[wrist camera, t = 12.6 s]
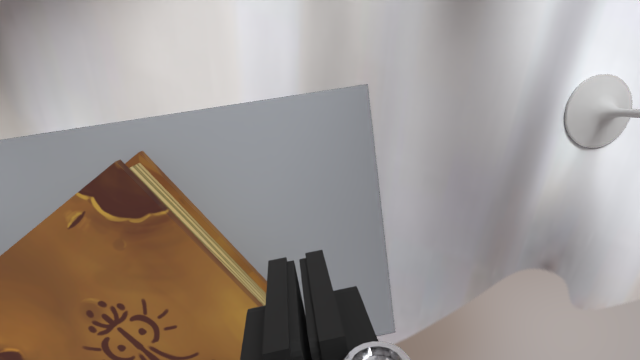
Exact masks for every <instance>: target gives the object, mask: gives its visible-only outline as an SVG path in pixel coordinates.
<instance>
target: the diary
mask: <svg viewBox="0 0 640 360" xmlns="http://www.w3.org/2000/svg"><path fill="white" fill-rule="evenodd" d="M266 290H267V281H266V280H265V279H264V277H263V276H262V275H261V274H260V273H259V272H258V271H257V270H256V269H255V268H254V267H253V266H252V265H251V264H250V263H249V262H248V261H247V260H246V259H245V258H244V256H243V255H242V254H241V253H240V252H239V251H238V250H237V249H236V248H235V247H234V246H233V245H232V244H231V243H230V242H229V241H228V240H227V239H226V238H225V237H224V235H223V234H222V233H221V232H220V231H219V230H218V229H217V228H216V227H215V226H214V225H213V224H212V223H211V222H210V221H209V220H208V219H207V218H206V217H205V216H204V214H203V213H202V212H201V211H200V210H199V209H198V208H197V207H196V206H195V205H194V204H193V203H192V202H191V201H190V200H189V199H188V198H187V197H186V196H185V195H184V193H183V192H182V191H181V190H180V189H179V188H178V187H177V186H176V185H175V184H174V183H173V182H172V181H171V180H170V179H169V178H168V177H167V176H166V175H165V173H164V172H163V171H162V170H161V169H160V168H159V167H158V166H157V165H156V164H155V163H154V162H153V161H152V160H151V159H150V158H149V157H148V156H147V155H146V154H145V152H144V151H140V152H138V153H137V154H136V155H135V156H134V157H132V158H131V159H130V160H129V161H127V162H126V163H125V164H124V163H123V162H122V161H121V159H120V160H118V161H115V162H114V163H113V164H112V165H110V166H109V167H108V168H107V169H105V170H104V171H103V172H102V173H101V174H99V175H98V176H97V177H96V178H95V179H93V180H92V181H91V182H90V183H88V184H87V185H86V186H85V187H84V188H82V189H81V190H80V191H79V192H77V193H76V194H75V195H74V196H73V197H71V198H70V199H69V200H68V201H66V202H65V203H64V204H63V205H62V206H60V207H59V208H58V209H57V210H56V211H54V212H53V213H52V214H51V215H49V216H48V217H47V218H46V219H45V220H43V221H42V222H41V223H40V224H38V225H37V226H36V227H35V228H34V229H32V230H31V231H30V232H29V233H28V234H26V235H25V236H24V237H23V238H21V239H20V240H19V241H18V242H17V243H15V244H14V245H13V246H12V247H10V248H9V249H8V250H7V251H6V252H4V253H3V254H2V255H1V256H0V360H240V356H241V349H242V342H243V335H244V329H245V322H246V315H247V310H248V309H251V308H255V307H260V306H265V305H266Z"/></svg>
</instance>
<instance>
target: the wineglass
mask: <svg viewBox="0 0 640 360" xmlns="http://www.w3.org/2000/svg"><path fill="white" fill-rule="evenodd" d="M630 117H635V118H640V109H632V96H631V92H630V90H629V88H628V86H627V85H626V84H625V82H624V81H623V80H621V79H620V78H618V77H617V76H613V75H610V74H604V75H596V76H593V77H590V78H589V79H587V80H585V81H583V82H582V83H581V84H580V85H579V86H578V87H577V88H576V89H575V90H574V92H573V93H572V94H571V96H570V98H569V100H568V103H567V105H566V110H565V126H566V130H567V132H568V134H569V136H570V138H571V139H572V140H573V141H574V142H575V143H577V144H579V145H580V146H584V147H588V148H598V147H602V146H605V145H607V144H609V143H611V142H612V141H614V140H615V139H616V138H617V137H618V136H619V135H620V134H621V133H622V132H623V130H624V129H625V128H626V126H627V124H628V122H629V119H630Z"/></svg>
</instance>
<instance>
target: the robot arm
mask: <svg viewBox="0 0 640 360" xmlns="http://www.w3.org/2000/svg"><path fill="white" fill-rule="evenodd" d="M305 255H306V258H302V259H299V262H300V270H301V279H302V288H303V297H304V305H305V310H304V306H303V301H302V296H301V291H300V286H299V282H298V277H297V272H296V267H295V263H294V260H293V261H287V258H286V257H284V258H279V259H274V260H269V261H268V274H267V290H266V305H265V306H260V307H255V308H251V309H248V310H247V315H246V322H245V329H244V335H243V342H242V349H241V356H240V360H411V359H410V358H409V357H408V355H407V354H406V353H405V352H404V351H403V350H402V349H401V348H399V347H397V346H395V345H394V344H391V343H387V342H378V339H377V337H376V334H375V332H374V329H373V326H372V324H371V321H370V319H369V316H368V314H367V311H366V309H365V306H364V303H363V301H362V298H361V296H360V293H359V291H358V288H357V286H353V287H349V288H344V289H339V290H335V291H333V288H332V284H331V280H330V277H329V273H328V269H327V265H326V261H325V258H324V254H323V250H318V251H313V252H308V253H305ZM305 314H306V315H305Z"/></svg>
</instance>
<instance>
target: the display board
mask: <svg viewBox="0 0 640 360" xmlns="http://www.w3.org/2000/svg"><path fill="white" fill-rule="evenodd" d="M140 151H144V152H145V154H146V155H147V156H148V157H149V158H150V159H151V160H152V161H153V162H154V163H155V164H156V165H157V166H158V167H159V168H160V169H161V170H162V171H163V172H164V173H165V175H166V176H167V177H168V178H169V179H170V180H171V181H172V182H173V183H174V184H175V185H176V186H177V187H178V188H179V189H180V190H181V191H182V192H183V193H184V195H185V196H186V197H187V198H188V199H189V200H190V201H191V202H192V203H193V204H194V205H195V206H196V207H197V208H198V209H199V210H200V211H201V212H202V213H203V214H204V216H205V217H206V218H207V219H208V220H209V221H210V222H211V223H212V224H213V225H214V226H215V227H216V228H217V229H218V230H219V231H220V232H221V233H222V234H223V235H224V237H225V238H226V239H227V240H228V241H229V242H230V243H231V244H232V245H233V246H234V247H235V248H236V249H237V250H238V251H239V252H240V253H241V254H242V255H243V256H244V258H245V259H246V260H247V261H248V262H249V263H250V264H251V265H252V266H253V267H254V268H255V269H256V270H257V271H258V272H259V273H260V274H261V275H262V276H263V277H264V279H265V280H266V281H267V274H268V261H269V260H274V259H279V258H284V257H286V258H287V261H293V260H294V263H295V267H296V272H297V277H298V282H299V286H300V291H301V296H302V301H303V306H304V310H305V305H304V297H303V288H302V279H301V270H300V262H299V259H302V258H306V255H305V253H308V252H313V251H318V250H323V254H324V258H325V261H326V265H327V269H328V273H329V277H330V280H331V284H332V288H333V291H335V290H339V289H344V288H349V287H353V286H357V288H358V291H359V293H360V296H361V298H362V301H363V303H364V306H365V309H366V311H367V314H368V316H369V319H370V321H371V324H372V326H373V329H374V332H375V334H376V336H379V335H384V334H388V333H393V332H395V327H394V318H393V309H392V300H391V291H390V282H389V273H388V264H387V255H386V245H385V236H384V227H383V218H382V209H381V200H380V191H379V182H378V173H377V164H376V155H375V146H374V137H373V128H372V119H371V110H370V101H369V92H368V84H365V85H359V86H352V87H346V88H339V89H332V90H326V91H319V92H313V93H306V94H300V95H293V96H286V97H280V98H273V99H267V100H260V101H253V102H247V103H240V104H234V105H227V106H220V107H214V108H207V109H201V110H194V111H188V112H181V113H174V114H168V115H161V116H155V117H148V118H141V119H135V120H128V121H122V122H115V123H108V124H102V125H95V126H89V127H82V128H75V129H69V130H62V131H56V132H49V133H43V134H36V135H29V136H23V137H16V138H10V139H3V140H0V256H1V255H2V254H3V253H4V252H6V251H7V250H8V249H9V248H10V247H12V246H13V245H14V244H15V243H17V242H18V241H19V240H20V239H21V238H23V237H24V236H25V235H26V234H28V233H29V232H30V231H31V230H32V229H34V228H35V227H36V226H37V225H38V224H40V223H41V222H42V221H43V220H45V219H46V218H47V217H48V216H49V215H51V214H52V213H53V212H54V211H56V210H57V209H58V208H59V207H60V206H62V205H63V204H64V203H65V202H66V201H68V200H69V199H70V198H71V197H73V196H74V195H75V194H76V193H77V192H79V191H80V190H81V189H82V188H84V187H85V186H86V185H87V184H88V183H90V182H91V181H92V180H93V179H95V178H96V177H97V176H98V175H99V174H101V173H102V172H103V171H104V170H105V169H107V168H108V167H109V166H110V165H112V164H113V163H114V162H115V161H118V160H120V159H121V161H122V162H123V163H124V164H125V163H126V162H127V161H129V160H130V159H131V158H132V157H134V156H135V155H136V154H137V153H138V152H140ZM305 315H306V314H305Z"/></svg>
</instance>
